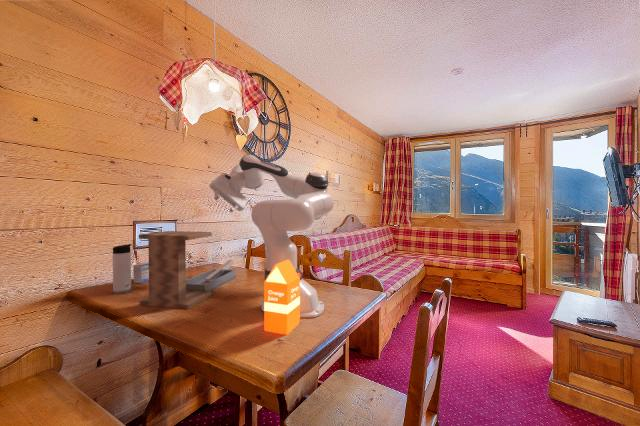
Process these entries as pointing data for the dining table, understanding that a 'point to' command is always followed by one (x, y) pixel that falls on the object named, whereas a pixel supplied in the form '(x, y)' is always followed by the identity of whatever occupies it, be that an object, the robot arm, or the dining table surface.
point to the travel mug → (121, 269)
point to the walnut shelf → (170, 270)
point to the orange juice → (282, 299)
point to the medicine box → (141, 272)
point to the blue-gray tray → (200, 285)
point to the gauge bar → (219, 271)
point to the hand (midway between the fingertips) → (223, 205)
